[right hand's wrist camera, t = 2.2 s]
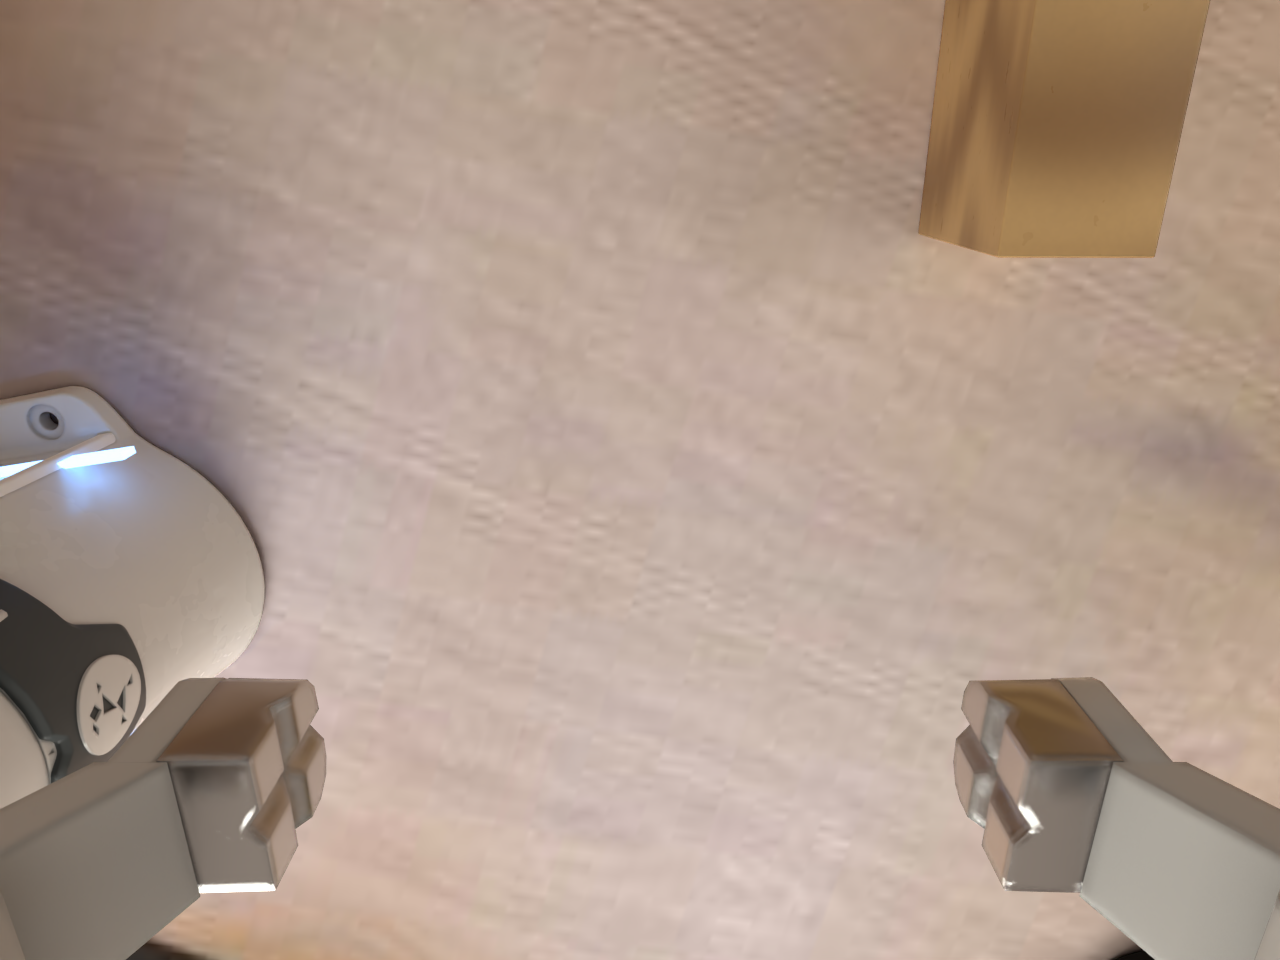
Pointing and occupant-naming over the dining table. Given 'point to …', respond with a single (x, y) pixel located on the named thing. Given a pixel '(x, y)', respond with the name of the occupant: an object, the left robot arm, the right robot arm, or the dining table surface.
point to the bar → (1058, 124)
